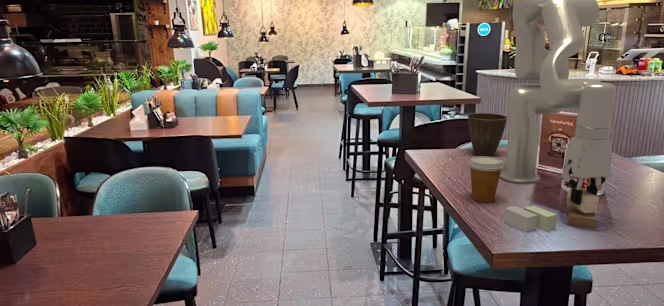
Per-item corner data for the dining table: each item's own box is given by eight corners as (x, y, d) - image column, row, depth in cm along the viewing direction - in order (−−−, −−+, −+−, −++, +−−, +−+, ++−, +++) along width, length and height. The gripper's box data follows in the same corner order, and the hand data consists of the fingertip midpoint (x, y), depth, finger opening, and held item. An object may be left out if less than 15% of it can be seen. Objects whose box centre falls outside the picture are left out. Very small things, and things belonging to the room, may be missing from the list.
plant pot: (509, 154, 183) (513, 115, 179) (495, 161, 172) (498, 121, 168) (474, 148, 192) (477, 112, 188) (459, 155, 182) (461, 116, 178)
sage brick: (522, 222, 116) (524, 207, 116) (532, 219, 118) (533, 205, 117) (545, 232, 110) (547, 217, 109) (555, 229, 112) (557, 214, 111)
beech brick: (566, 202, 119) (568, 188, 118) (578, 202, 119) (580, 187, 118) (584, 212, 112) (586, 198, 111) (597, 212, 112) (599, 197, 111)
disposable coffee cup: (499, 195, 136) (503, 157, 133) (500, 205, 127) (503, 165, 124) (467, 191, 139) (469, 154, 136) (465, 202, 130) (468, 163, 127)
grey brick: (503, 222, 116) (505, 208, 115) (513, 220, 118) (515, 205, 117) (525, 232, 110) (527, 217, 109) (535, 229, 112) (537, 215, 111)
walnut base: (566, 214, 121) (567, 204, 121) (591, 217, 119) (592, 207, 118) (568, 227, 114) (569, 216, 113) (595, 230, 111) (596, 219, 110)
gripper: (611, 128, 115) (601, 195, 120) (552, 131, 113) (544, 199, 117) (634, 134, 108) (622, 205, 112) (571, 137, 106) (562, 209, 110)
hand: (582, 201), depth 115 cm, fingers closed on beech brick, 3 cm apart
